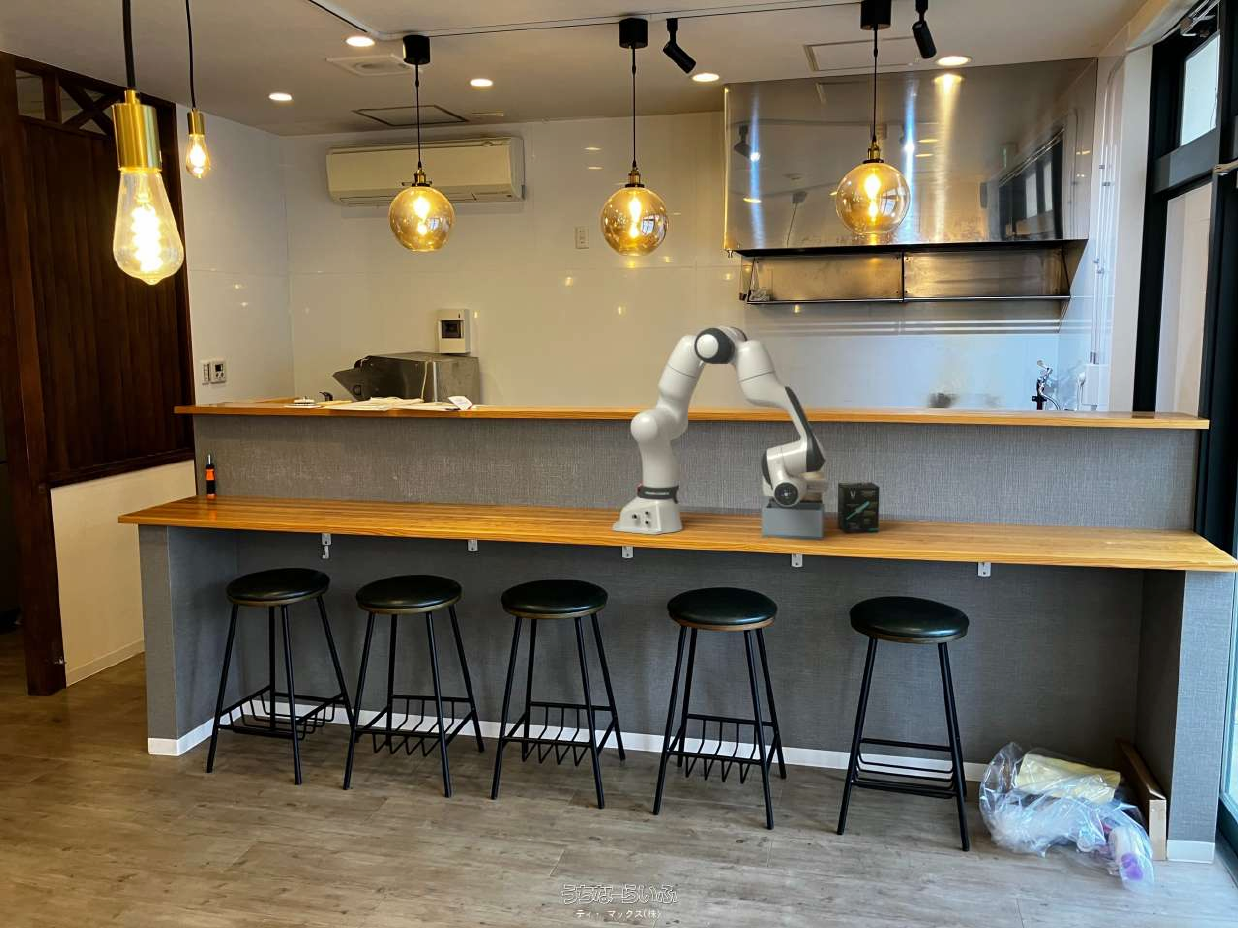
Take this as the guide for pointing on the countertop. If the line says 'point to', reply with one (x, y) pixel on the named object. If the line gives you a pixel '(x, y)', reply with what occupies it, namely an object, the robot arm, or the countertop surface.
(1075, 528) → the countertop surface
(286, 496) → the countertop surface
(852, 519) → the tampon box
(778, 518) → the crate
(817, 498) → the lid flap
